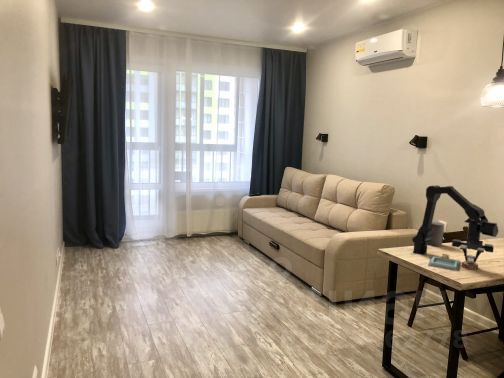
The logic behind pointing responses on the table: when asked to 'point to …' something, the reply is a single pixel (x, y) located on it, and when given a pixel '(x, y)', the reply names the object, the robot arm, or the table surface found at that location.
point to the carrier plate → (444, 262)
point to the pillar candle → (436, 234)
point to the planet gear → (470, 263)
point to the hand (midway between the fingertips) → (470, 261)
